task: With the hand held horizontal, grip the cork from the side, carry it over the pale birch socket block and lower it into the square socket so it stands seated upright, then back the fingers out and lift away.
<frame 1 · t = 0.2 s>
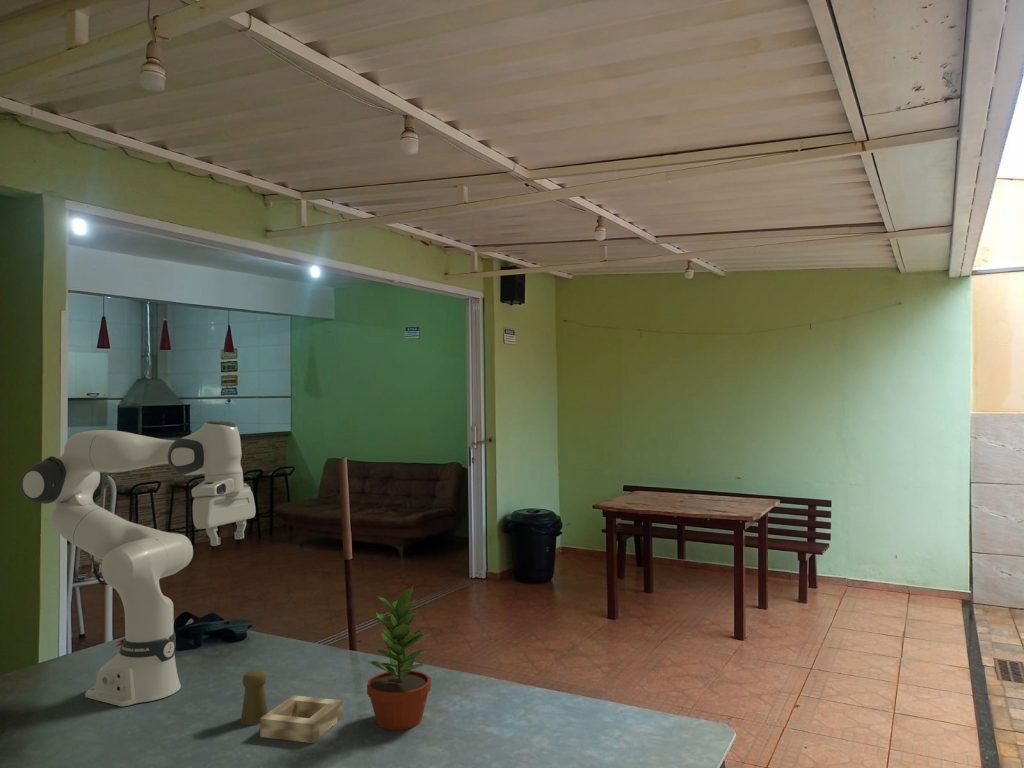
hand: (227, 542, 182), 39 cm above the table, tool pointing down, fingers open, 8 cm apart
potted plant: (399, 721, 168), on the table
cork: (254, 720, 170), on the table
socket block: (302, 727, 166), on the table
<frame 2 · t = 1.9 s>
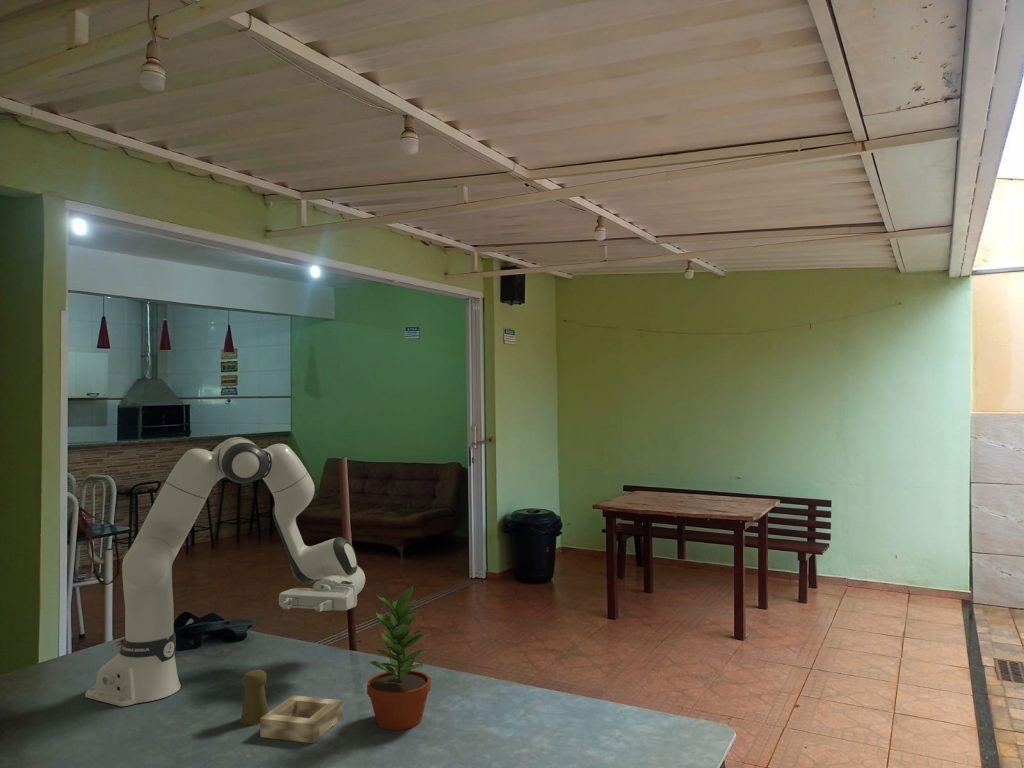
hand: (301, 607, 190), 20 cm above the table, tool horizontal, fingers open, 8 cm apart
nothing on the table moved.
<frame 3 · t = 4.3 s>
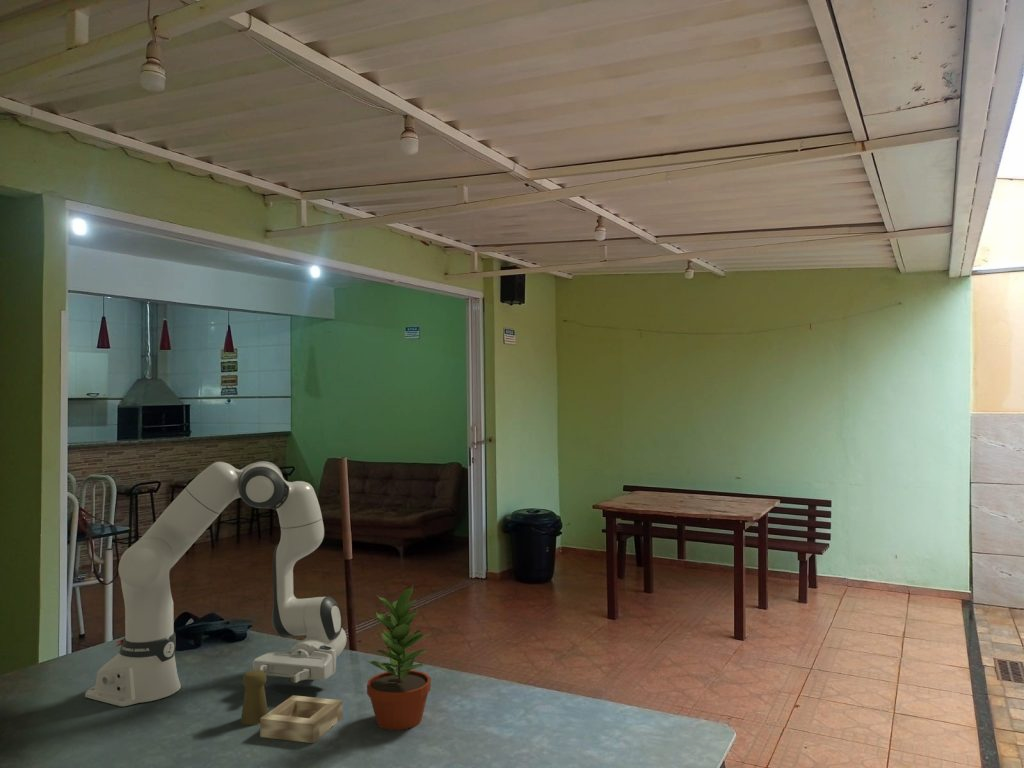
hand: (275, 677, 179), 6 cm above the table, tool horizontal, fingers open, 8 cm apart
nothing on the table moved.
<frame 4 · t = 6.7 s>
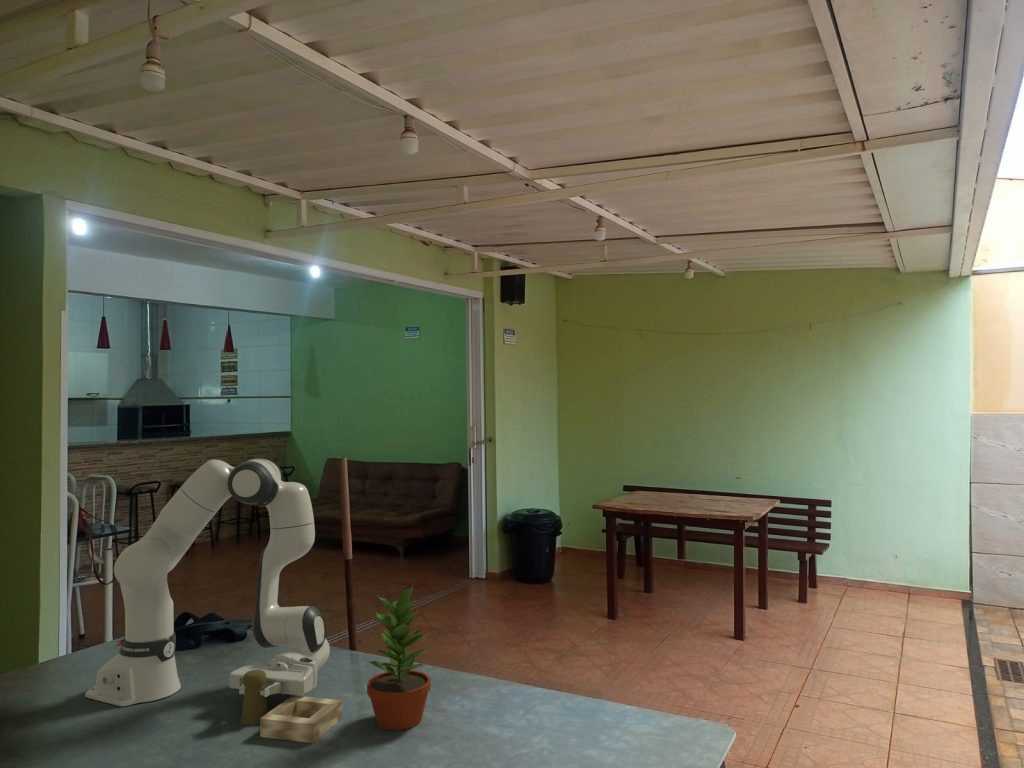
hand: (252, 692, 169), 7 cm above the table, tool horizontal, fingers closed on cork, 4 cm apart
cork: (254, 720, 170), on the table, touching gripper
everything else where it was.
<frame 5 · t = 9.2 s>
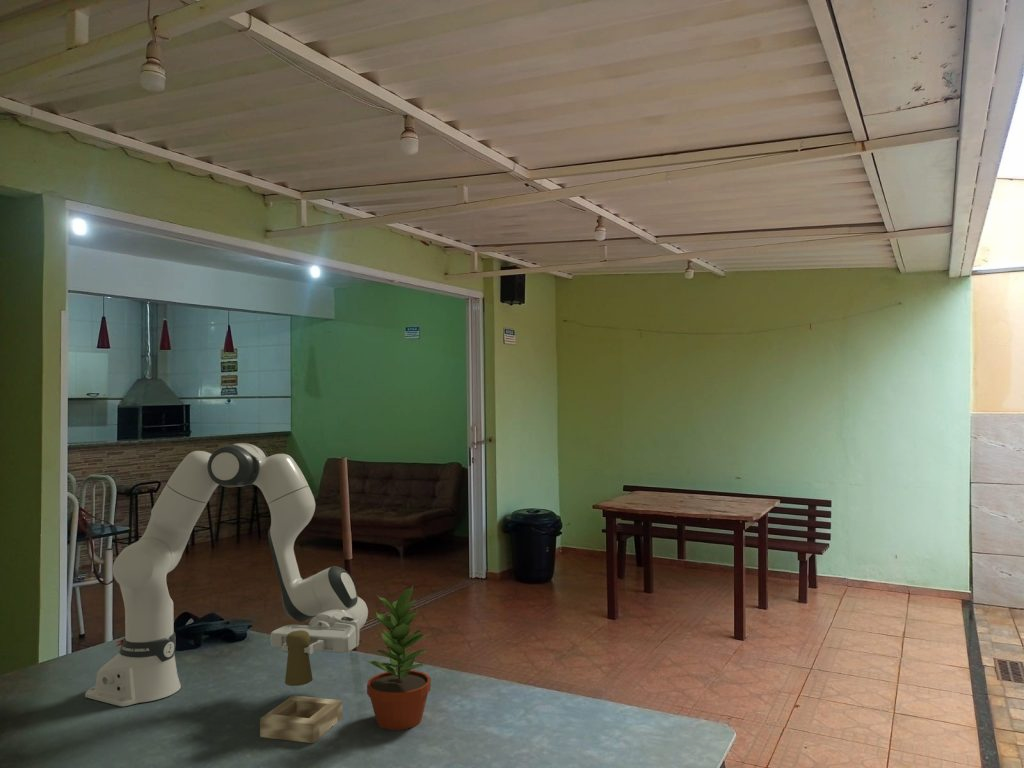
hand: (296, 649, 166), 17 cm above the table, tool horizontal, fingers closed on cork, 4 cm apart
cork: (298, 681, 167), point 10 cm above the table, touching gripper
everything else where it was.
when the fingers open (8 cm above the table, at t = 12.0 s): cork stays where it is, resting in socket block.
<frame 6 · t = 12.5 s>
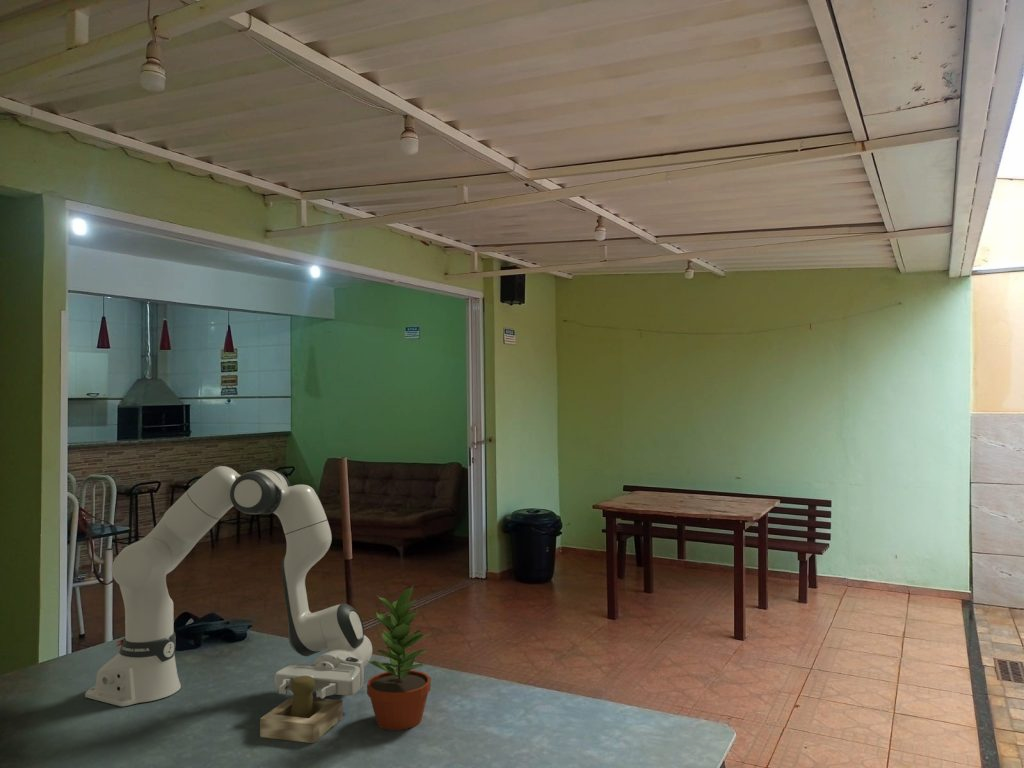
hand: (300, 692, 165), 8 cm above the table, tool horizontal, fingers open, 8 cm apart
cork: (302, 727, 166), resting in socket block
everything else where it was.
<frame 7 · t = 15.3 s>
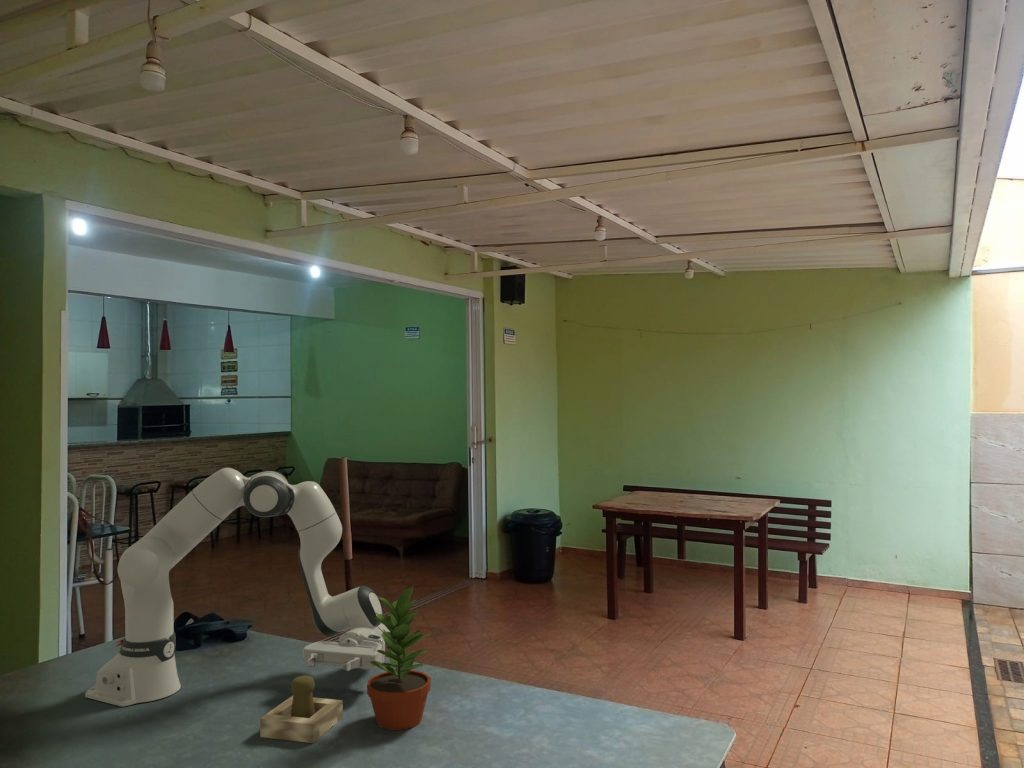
hand: (327, 665, 178), 9 cm above the table, tool horizontal, fingers open, 8 cm apart
nothing on the table moved.
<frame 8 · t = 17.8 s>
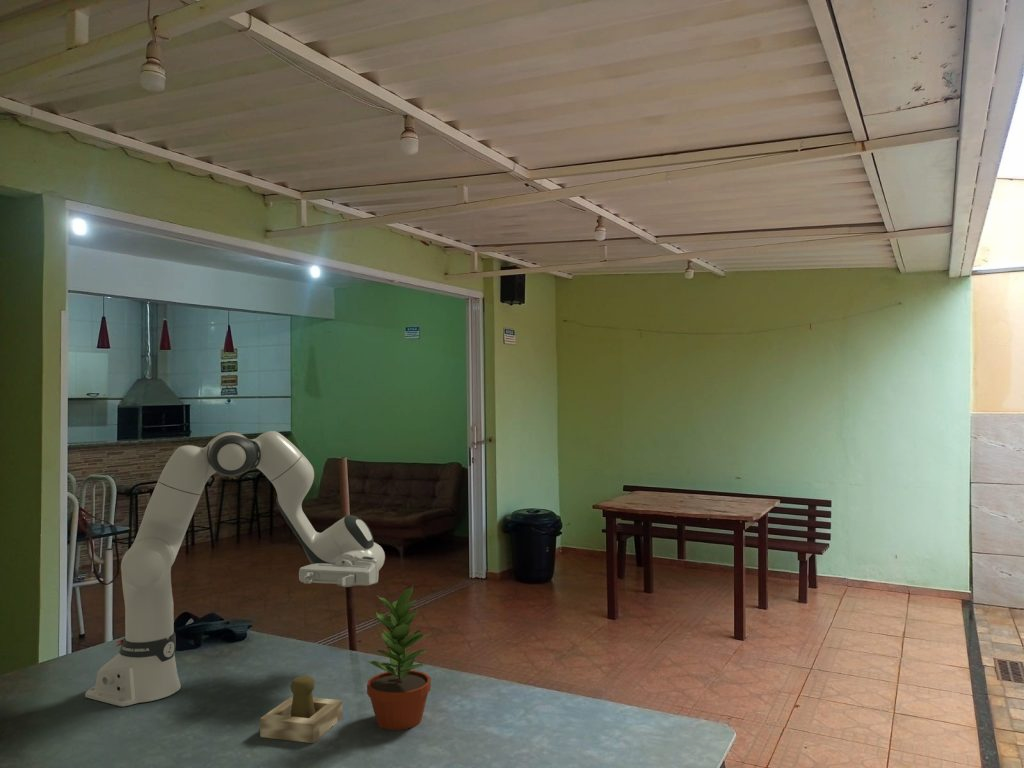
hand: (322, 581, 185), 28 cm above the table, tool horizontal, fingers open, 8 cm apart
nothing on the table moved.
at the end: cork 0.2 cm off-centre on the socket block, point 0.0 cm above the socket block's base; cork tilted 0°; the gripper is holding nothing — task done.
